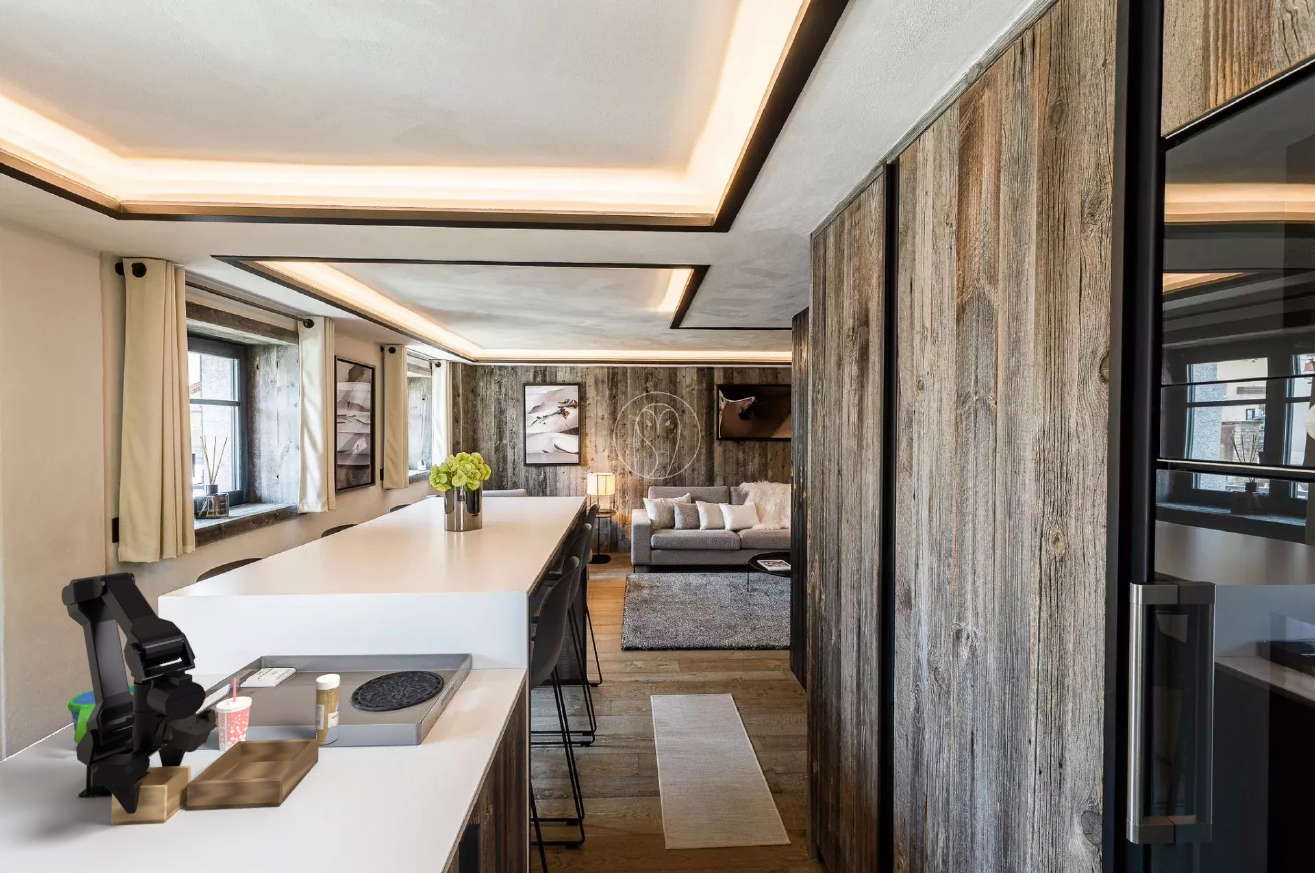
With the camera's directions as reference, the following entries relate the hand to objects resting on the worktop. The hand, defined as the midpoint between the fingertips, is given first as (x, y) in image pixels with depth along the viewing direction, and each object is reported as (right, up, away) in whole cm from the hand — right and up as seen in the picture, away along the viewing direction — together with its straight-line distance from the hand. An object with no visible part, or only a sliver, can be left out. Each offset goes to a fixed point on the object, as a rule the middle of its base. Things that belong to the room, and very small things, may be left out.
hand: (152, 796), depth 103 cm
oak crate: (0, -3, 0) cm, 3 cm away
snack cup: (-29, -3, +22) cm, 37 cm away
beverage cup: (-2, -3, +22) cm, 23 cm away
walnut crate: (+12, -3, +9) cm, 15 cm away
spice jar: (+16, -3, +25) cm, 30 cm away
